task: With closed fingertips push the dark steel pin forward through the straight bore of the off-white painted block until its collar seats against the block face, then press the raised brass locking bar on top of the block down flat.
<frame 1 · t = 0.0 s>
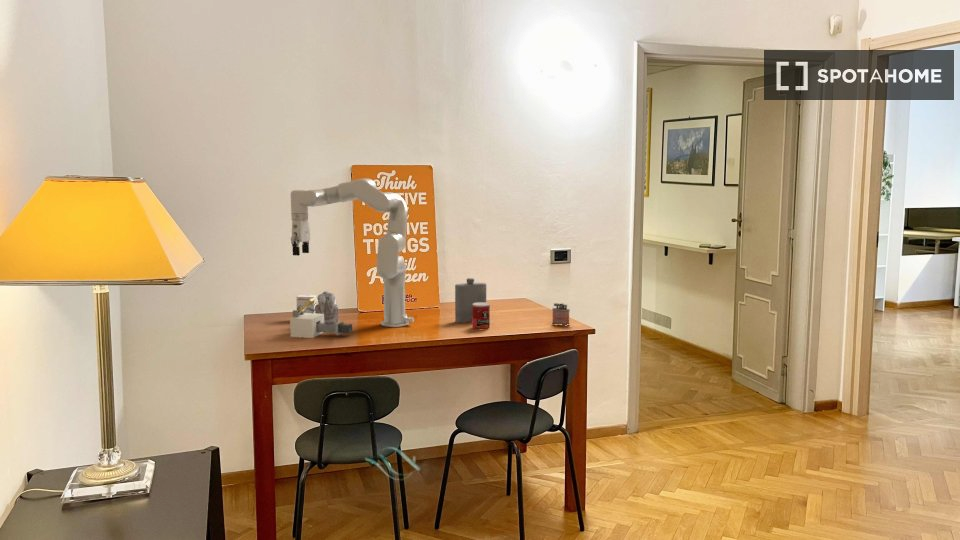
hand: (301, 254, 345), 31 cm above the table, fingers open, 9 cm apart
ink box: (307, 321, 349), on the table
lever: (304, 306, 319), point 12 cm above the table, hinge at 42.0°
canned food: (481, 328, 332), on the table
flask: (470, 321, 348), on the table
pin: (330, 327, 317), point 3 cm above the table, slide at 0.0 cm
figurine: (327, 326, 337), on the table
lighter: (560, 325, 339), on the table
block: (307, 334, 320), on the table
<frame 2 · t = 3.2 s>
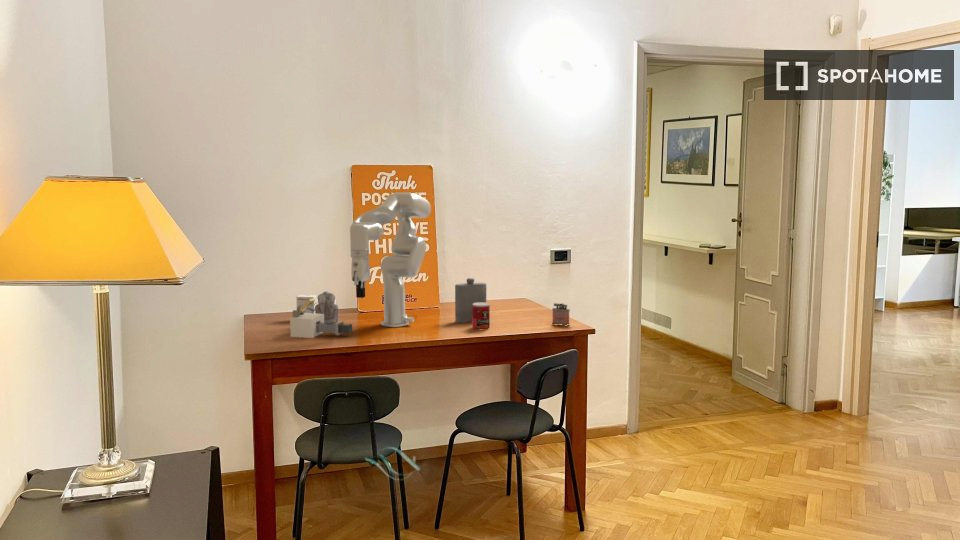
hand: (360, 297, 313), 17 cm above the table, fingers closed
nothing on the table moved.
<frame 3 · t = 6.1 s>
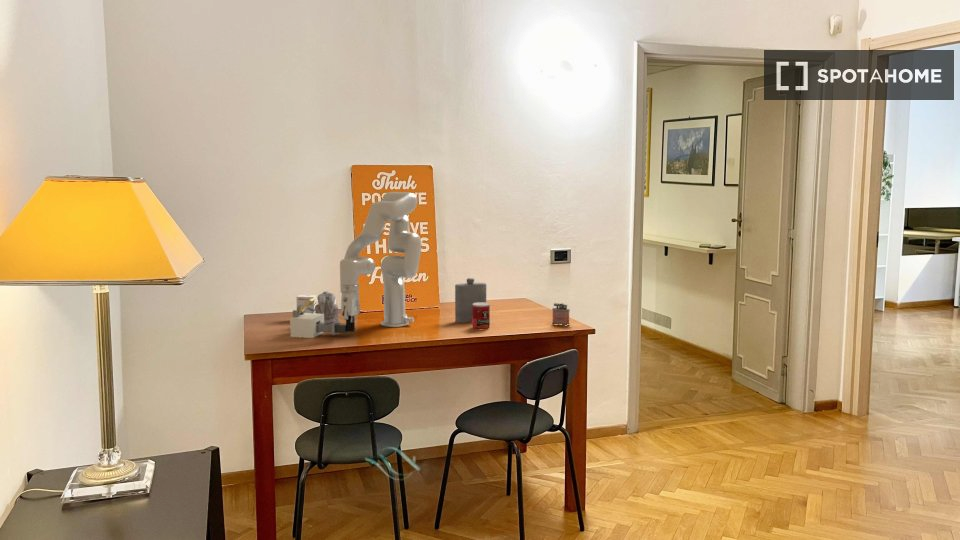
hand: (350, 331, 316), 2 cm above the table, fingers closed
pin: (326, 327, 318), point 3 cm above the table, slide at 1.6 cm, touching gripper
everything else where it was.
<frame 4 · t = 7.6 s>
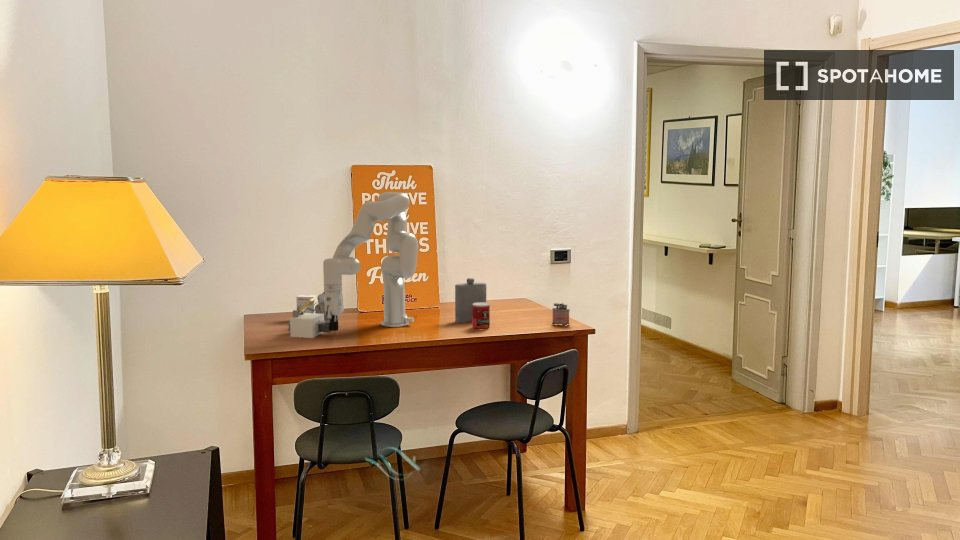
hand: (334, 330, 317), 2 cm above the table, fingers closed
pin: (310, 326, 319), point 3 cm above the table, slide at 9.0 cm, touching block, gripper
everything else where it was.
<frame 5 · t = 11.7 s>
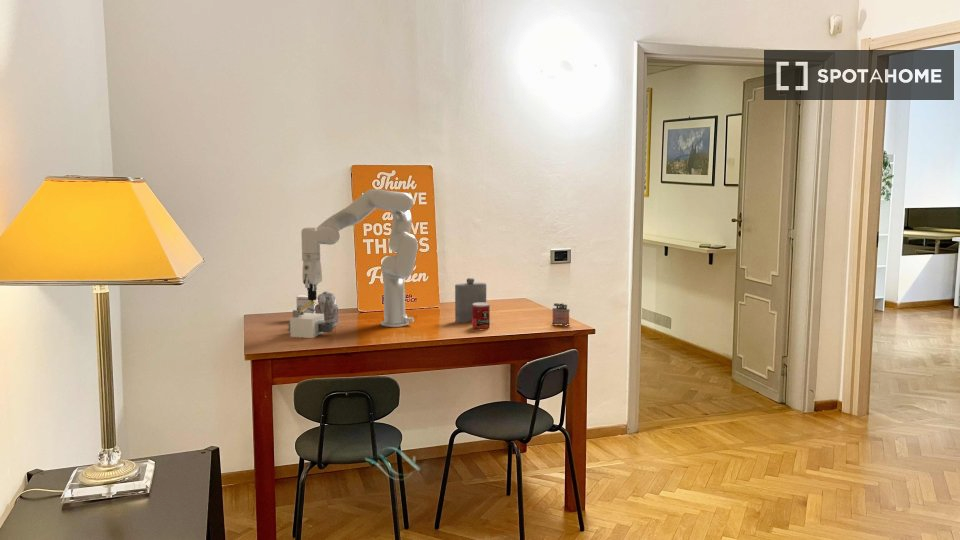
hand: (312, 299, 317), 15 cm above the table, fingers closed
lever: (305, 307, 319), point 12 cm above the table, hinge at 37.8°, touching gripper
pin: (310, 326, 319), point 3 cm above the table, slide at 9.0 cm, touching block
everything else where it was.
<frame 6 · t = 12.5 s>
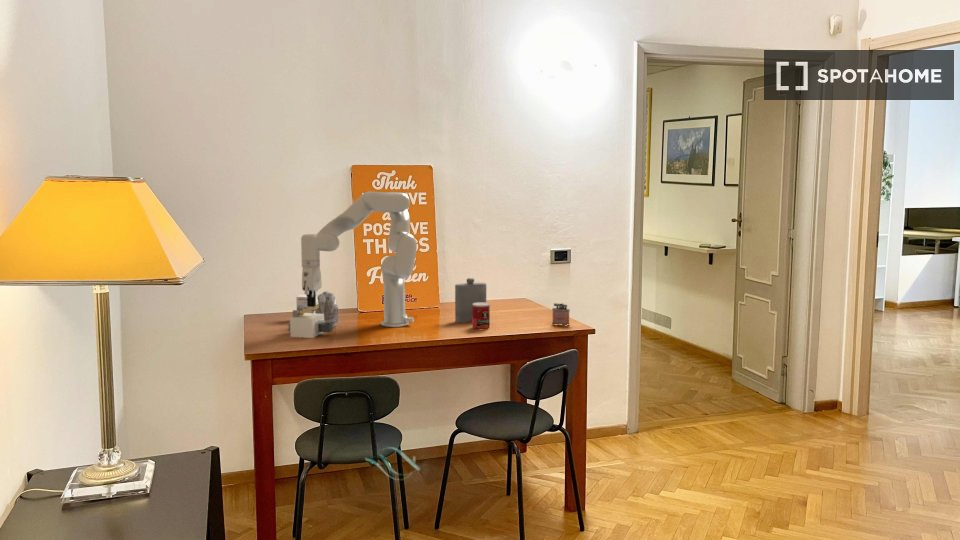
hand: (311, 306, 318), 12 cm above the table, fingers closed
lever: (306, 310, 319), point 10 cm above the table, hinge at 18.3°, touching gripper
everything else where it was.
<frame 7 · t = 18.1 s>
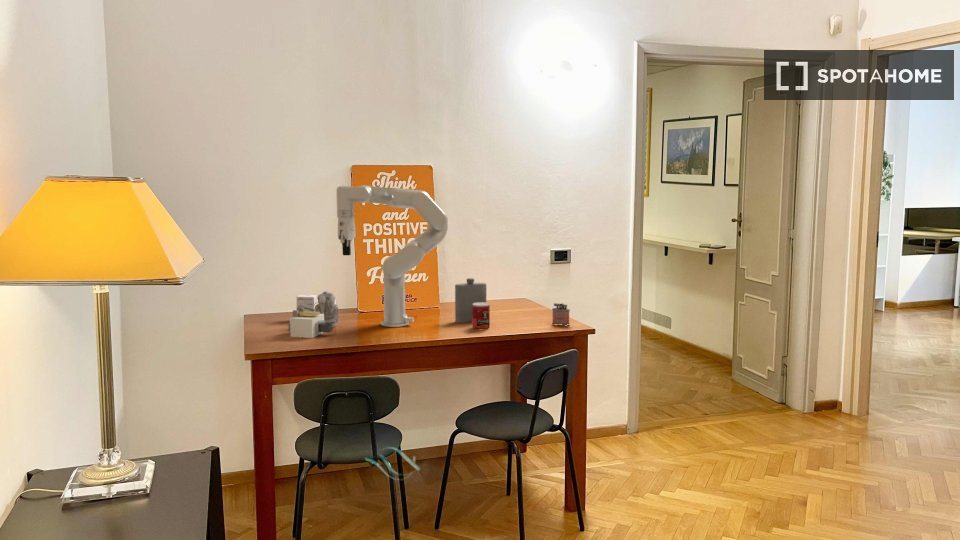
hand: (346, 255, 334), 32 cm above the table, fingers closed
lever: (307, 313, 319), point 9 cm above the table, hinge at -0.5°
everything else where it was.
at the end: pin slide at 9.0 cm; lever at +0° (first picture: +42°) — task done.
